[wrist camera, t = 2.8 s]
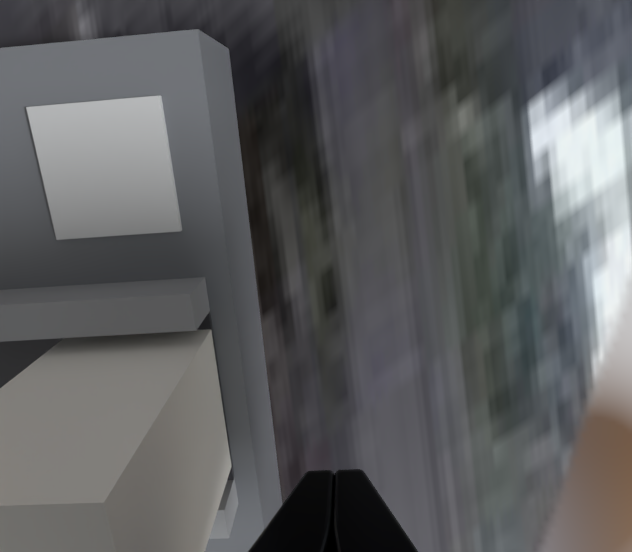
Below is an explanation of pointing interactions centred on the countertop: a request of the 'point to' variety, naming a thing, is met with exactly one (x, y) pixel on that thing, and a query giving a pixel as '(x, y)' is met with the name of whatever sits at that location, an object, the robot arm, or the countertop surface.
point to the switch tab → (114, 446)
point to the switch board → (136, 226)
